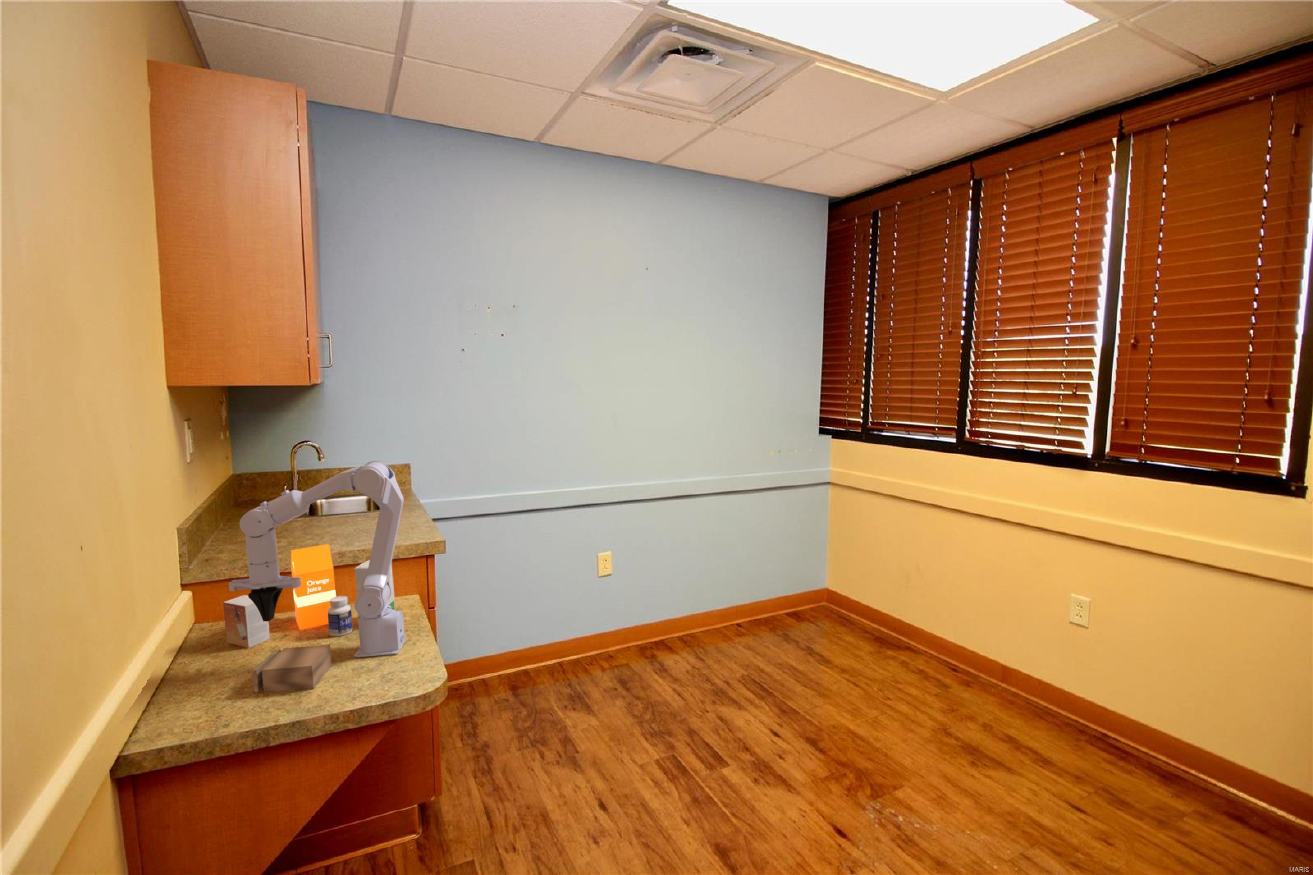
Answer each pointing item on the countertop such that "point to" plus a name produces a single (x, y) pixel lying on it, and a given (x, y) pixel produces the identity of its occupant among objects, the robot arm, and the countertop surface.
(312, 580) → the orange juice
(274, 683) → the cabinet
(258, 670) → the door
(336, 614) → the pill bottle
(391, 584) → the skincare box
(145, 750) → the countertop surface
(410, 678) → the countertop surface
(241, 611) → the small box
